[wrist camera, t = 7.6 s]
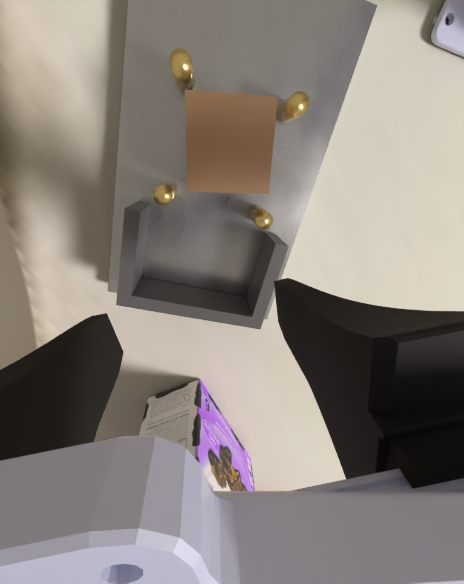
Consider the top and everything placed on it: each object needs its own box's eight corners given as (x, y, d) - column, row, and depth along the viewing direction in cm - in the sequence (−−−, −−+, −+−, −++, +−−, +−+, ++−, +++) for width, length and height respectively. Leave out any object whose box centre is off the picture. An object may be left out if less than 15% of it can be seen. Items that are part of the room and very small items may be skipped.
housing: (137, 201, 16) (124, 208, 14) (276, 234, 18) (288, 246, 15) (129, 285, 19) (116, 305, 16) (253, 307, 20) (260, 329, 18)
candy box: (252, 458, 30) (297, 736, 16) (205, 475, 31) (206, 758, 16) (200, 376, 25) (194, 694, 10) (144, 398, 25) (55, 733, 10)
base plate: (141, -79, 12) (118, -169, 9) (364, 17, 15) (411, -27, 11) (113, 284, 20) (94, 307, 17) (263, 311, 22) (274, 337, 19)
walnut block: (189, 108, 15) (184, 89, 11) (260, 113, 15) (277, 96, 12) (191, 185, 16) (187, 191, 13) (254, 188, 17) (268, 194, 13)
